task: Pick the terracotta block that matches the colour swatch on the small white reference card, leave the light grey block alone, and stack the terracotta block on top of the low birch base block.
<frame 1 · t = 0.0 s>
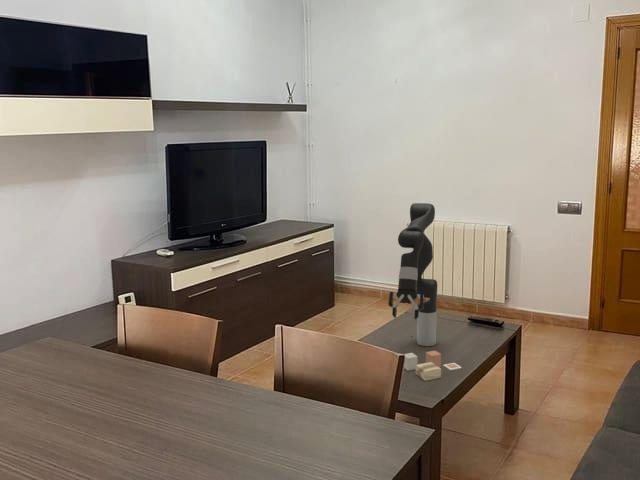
hand: (405, 318, 253), 31 cm above the table, tool tilted 20°, fingers open, 8 cm apart
birch base block: (428, 376, 273), on the table
terracotta block: (433, 365, 284), on the table
grey block: (409, 367, 282), on the table
reference card: (452, 366, 282), on the table
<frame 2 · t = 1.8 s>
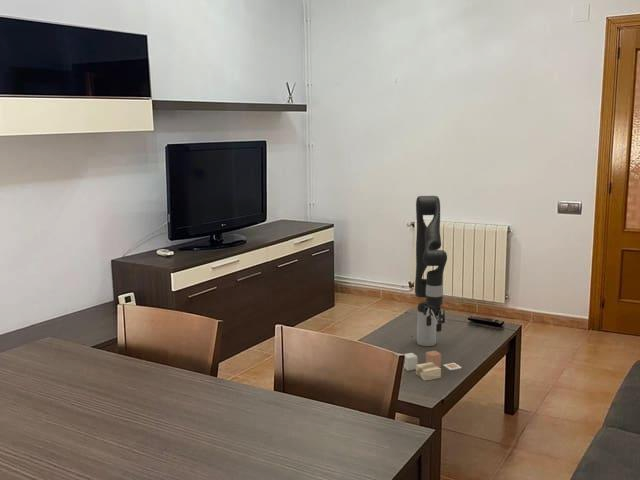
hand: (433, 328, 281), 18 cm above the table, tool pointing down, fingers open, 8 cm apart
nothing on the table moved.
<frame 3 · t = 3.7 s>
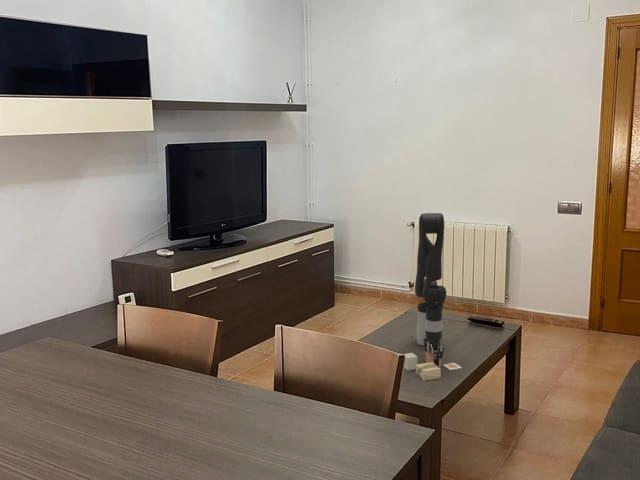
hand: (433, 363, 284), 1 cm above the table, tool pointing down, fingers closed on terracotta block, 5 cm apart
terracotta block: (433, 365, 284), on the table, touching gripper
everything else where it was.
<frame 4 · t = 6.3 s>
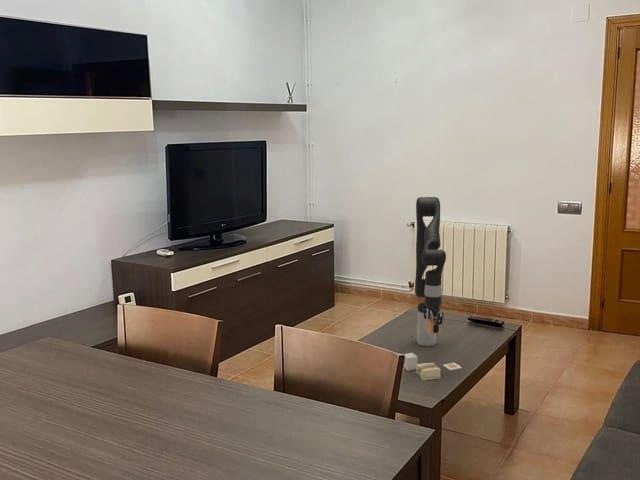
hand: (432, 330, 277), 18 cm above the table, tool pointing down, fingers closed on terracotta block, 5 cm apart
terracotta block: (432, 332, 277), point 17 cm above the table, touching gripper
everything else where it was.
when the fingers open (7 cm above the table, at t = 8.6 s): terracotta block drops 2 cm, point 4 cm above the table.
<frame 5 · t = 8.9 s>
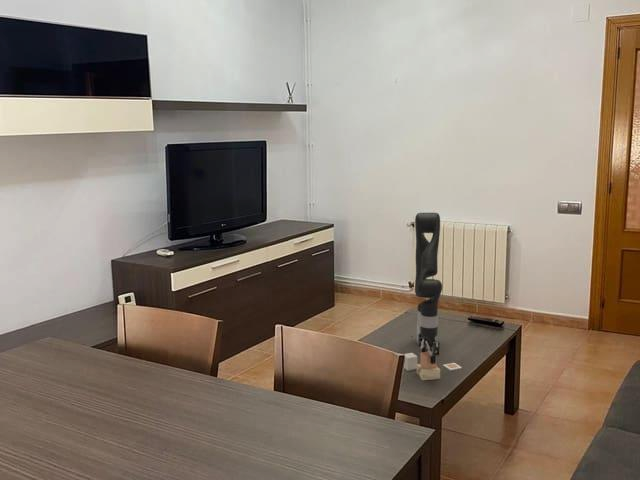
hand: (428, 360, 272), 7 cm above the table, tool pointing down, fingers open, 7 cm apart
terracotta block: (428, 366, 272), point 4 cm above the table
everything else where it was.
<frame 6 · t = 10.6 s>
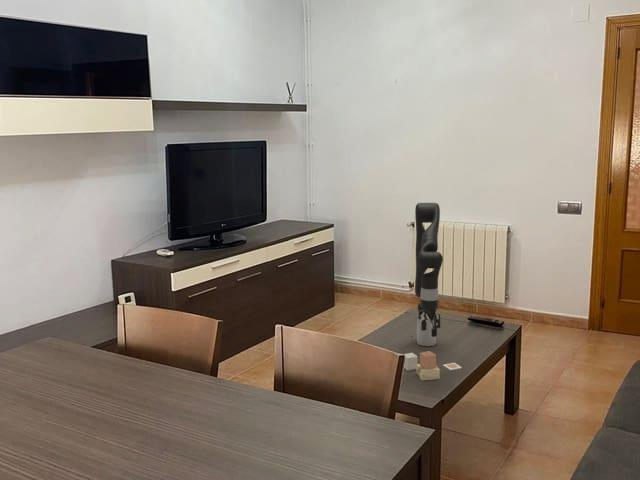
hand: (428, 333, 269), 20 cm above the table, tool pointing down, fingers open, 8 cm apart
nothing on the table moved.
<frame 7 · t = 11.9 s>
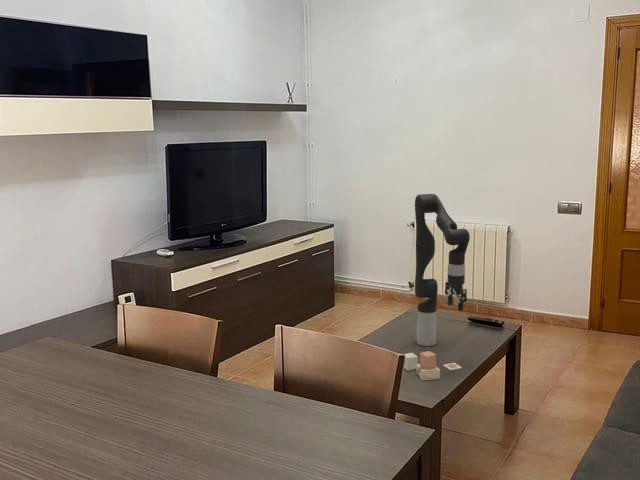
hand: (455, 307, 281), 27 cm above the table, tool pointing down, fingers open, 8 cm apart
nothing on the table moved.
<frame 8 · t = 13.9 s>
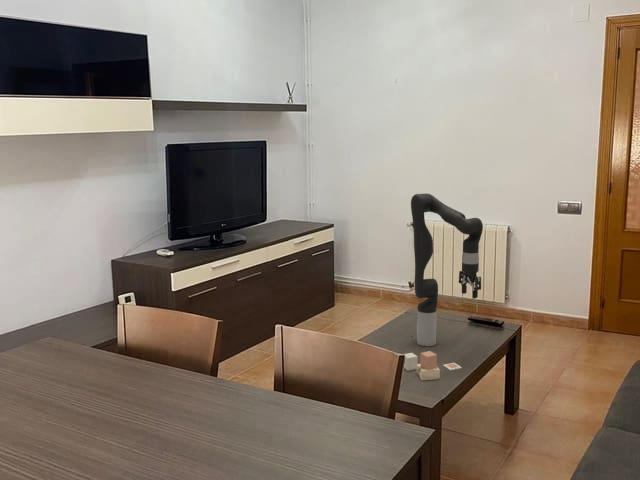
hand: (469, 295, 287), 30 cm above the table, tool pointing down, fingers open, 8 cm apart
nothing on the table moved.
at the end: terracotta block 0.1 cm off-centre on the birch base block, point 4.5 cm above the birch base block's base; terracotta block tilted 0°; grey block moved 0.1 cm from its start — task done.
